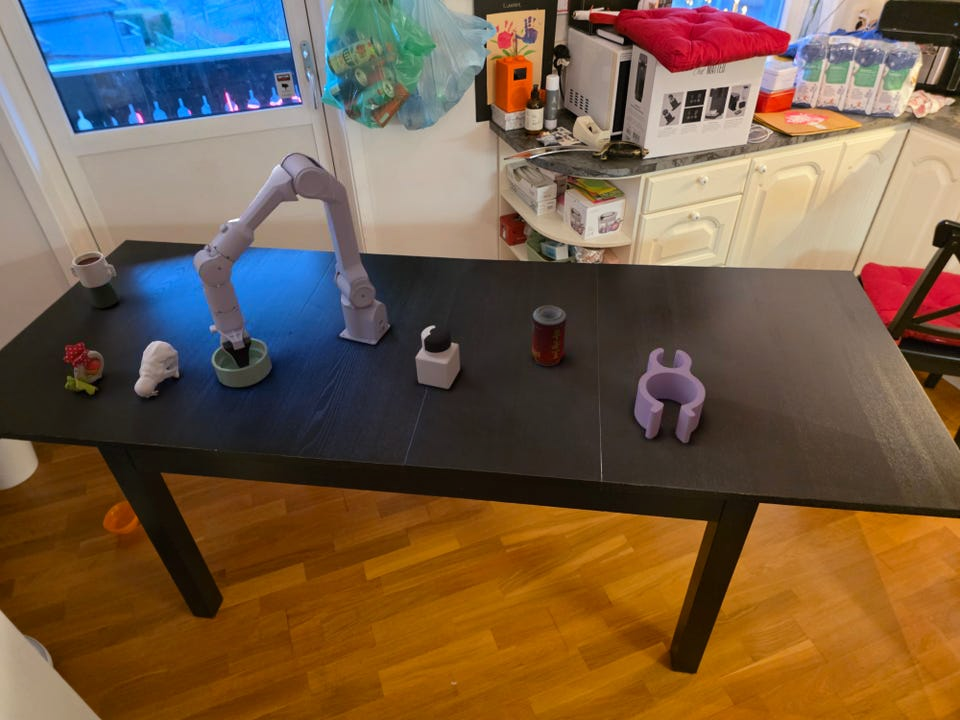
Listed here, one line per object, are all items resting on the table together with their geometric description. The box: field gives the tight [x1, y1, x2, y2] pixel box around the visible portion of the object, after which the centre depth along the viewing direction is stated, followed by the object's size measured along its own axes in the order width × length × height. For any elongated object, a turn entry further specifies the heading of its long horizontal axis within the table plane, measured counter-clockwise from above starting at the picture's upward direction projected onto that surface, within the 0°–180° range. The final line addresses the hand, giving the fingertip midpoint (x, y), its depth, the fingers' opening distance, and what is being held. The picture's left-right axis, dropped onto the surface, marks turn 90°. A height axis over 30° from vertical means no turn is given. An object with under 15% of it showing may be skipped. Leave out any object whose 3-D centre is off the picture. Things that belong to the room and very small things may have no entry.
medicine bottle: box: [415, 324, 461, 390], centre depth 138 cm, size 7×7×12 cm
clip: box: [633, 347, 706, 444], centre depth 131 cm, size 20×12×7 cm, turn 169°
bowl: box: [211, 337, 273, 388], centre depth 143 cm, size 12×12×5 cm
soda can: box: [531, 304, 567, 367], centre depth 142 cm, size 7×7×12 cm
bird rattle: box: [62, 342, 105, 395], centre depth 140 cm, size 6×11×9 cm
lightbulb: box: [219, 329, 250, 369], centre depth 141 cm, size 6×6×11 cm
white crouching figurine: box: [134, 340, 180, 399], centre depth 140 cm, size 6×8×12 cm
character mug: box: [69, 251, 121, 309], centre depth 164 cm, size 11×7×13 cm, turn 88°
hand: (240, 357), depth 143 cm, fingers closed on lightbulb, 6 cm apart
